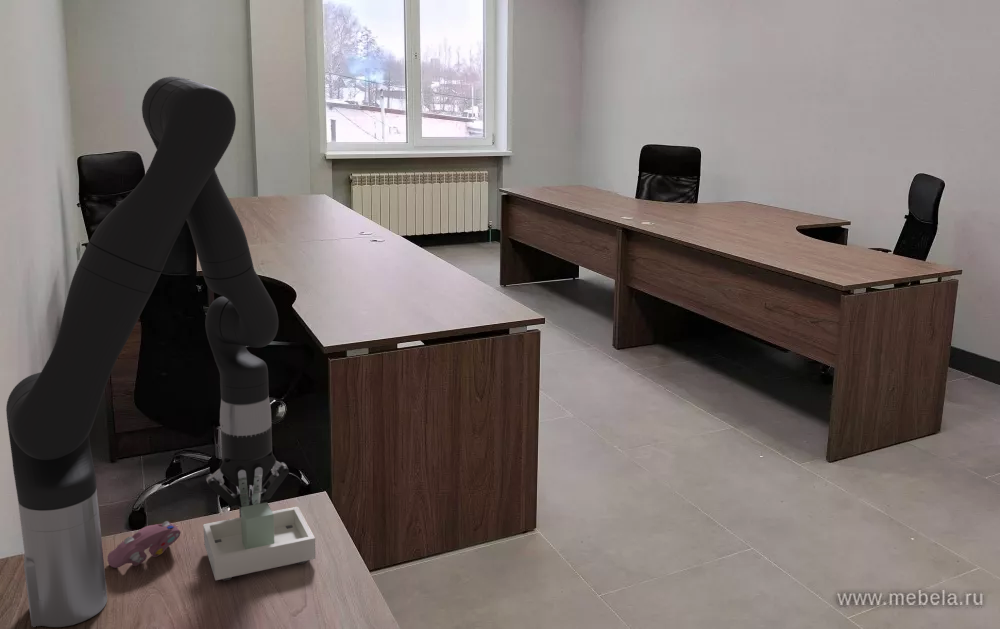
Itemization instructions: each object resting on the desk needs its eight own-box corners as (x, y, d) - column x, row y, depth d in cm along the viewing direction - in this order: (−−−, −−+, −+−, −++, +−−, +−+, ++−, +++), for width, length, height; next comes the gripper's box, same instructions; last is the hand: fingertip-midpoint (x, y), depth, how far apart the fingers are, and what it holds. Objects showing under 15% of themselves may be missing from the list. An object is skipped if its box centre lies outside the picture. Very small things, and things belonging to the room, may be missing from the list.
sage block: (247, 555, 124) (246, 519, 122) (242, 542, 127) (240, 507, 126) (274, 549, 126) (273, 514, 124) (268, 536, 129) (267, 502, 128)
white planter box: (215, 587, 120) (214, 559, 118) (204, 550, 129) (203, 524, 127) (315, 564, 126) (315, 538, 125) (298, 531, 135) (297, 506, 134)
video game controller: (118, 584, 122) (127, 553, 119) (102, 561, 124) (110, 531, 120) (178, 556, 130) (188, 527, 127) (162, 535, 132) (171, 506, 128)
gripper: (204, 439, 121) (210, 544, 126) (294, 426, 127) (297, 527, 132) (197, 421, 128) (203, 521, 132) (283, 409, 134) (286, 506, 138)
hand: (250, 524), depth 132 cm, fingers closed
